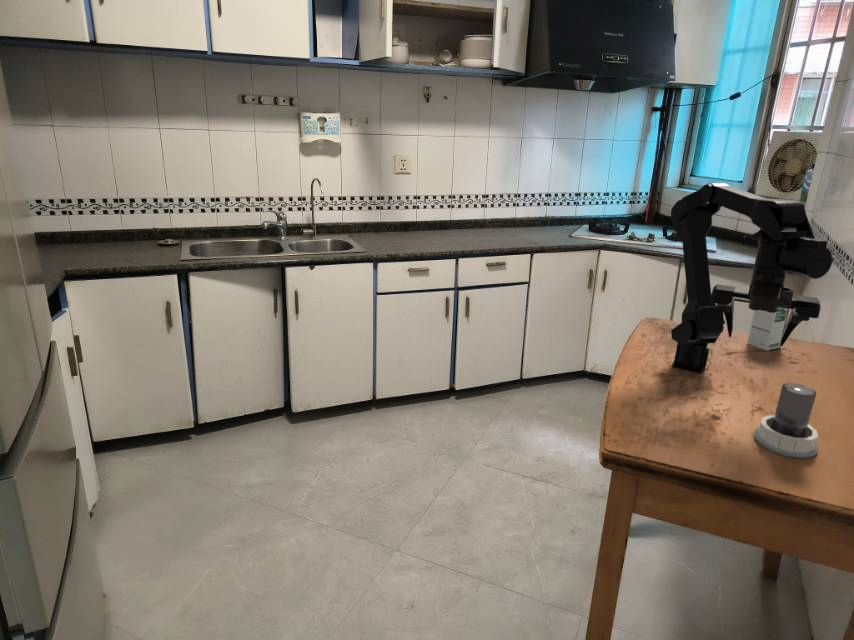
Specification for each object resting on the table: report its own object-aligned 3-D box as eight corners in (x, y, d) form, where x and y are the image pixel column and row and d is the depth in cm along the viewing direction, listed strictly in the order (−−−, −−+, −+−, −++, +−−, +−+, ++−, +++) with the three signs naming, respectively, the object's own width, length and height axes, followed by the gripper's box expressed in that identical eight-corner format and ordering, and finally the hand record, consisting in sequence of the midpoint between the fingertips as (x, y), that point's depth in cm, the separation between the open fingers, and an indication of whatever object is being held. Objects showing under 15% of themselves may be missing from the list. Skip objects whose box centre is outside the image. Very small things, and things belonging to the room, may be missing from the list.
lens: (774, 444, 106) (788, 393, 102) (765, 430, 110) (778, 380, 107) (806, 448, 105) (821, 397, 101) (796, 433, 109) (810, 384, 106)
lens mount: (752, 447, 106) (756, 431, 105) (755, 424, 114) (758, 408, 113) (818, 464, 101) (822, 448, 100) (815, 438, 109) (820, 423, 108)
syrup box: (767, 351, 150) (780, 296, 145) (745, 343, 155) (757, 290, 150) (781, 347, 152) (794, 294, 147) (759, 340, 157) (772, 287, 152)
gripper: (714, 267, 113) (700, 344, 118) (830, 281, 104) (810, 363, 109) (719, 257, 122) (706, 328, 127) (826, 269, 113) (808, 345, 118)
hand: (755, 341), depth 120 cm, fingers open, 9 cm apart
